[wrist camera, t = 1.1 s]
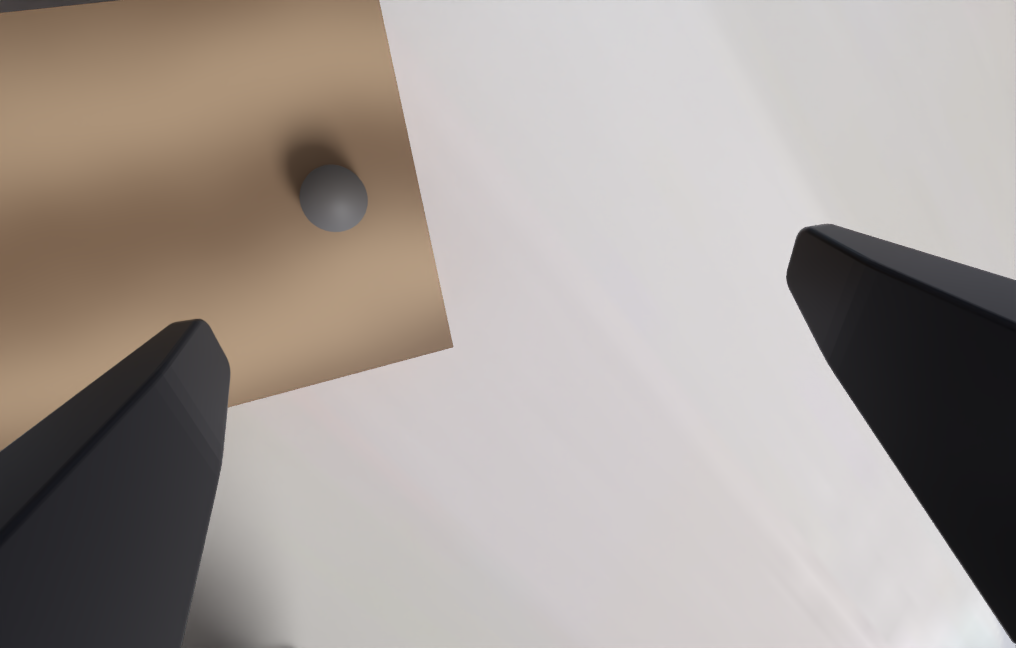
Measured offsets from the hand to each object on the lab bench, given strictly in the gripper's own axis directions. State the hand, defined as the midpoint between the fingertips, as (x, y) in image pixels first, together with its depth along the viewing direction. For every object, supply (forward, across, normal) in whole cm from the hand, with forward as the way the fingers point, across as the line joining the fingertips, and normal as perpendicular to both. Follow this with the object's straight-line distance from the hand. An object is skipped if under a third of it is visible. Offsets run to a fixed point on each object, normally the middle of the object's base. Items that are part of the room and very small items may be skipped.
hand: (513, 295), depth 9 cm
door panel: (+12, +9, +3) cm, 15 cm away
